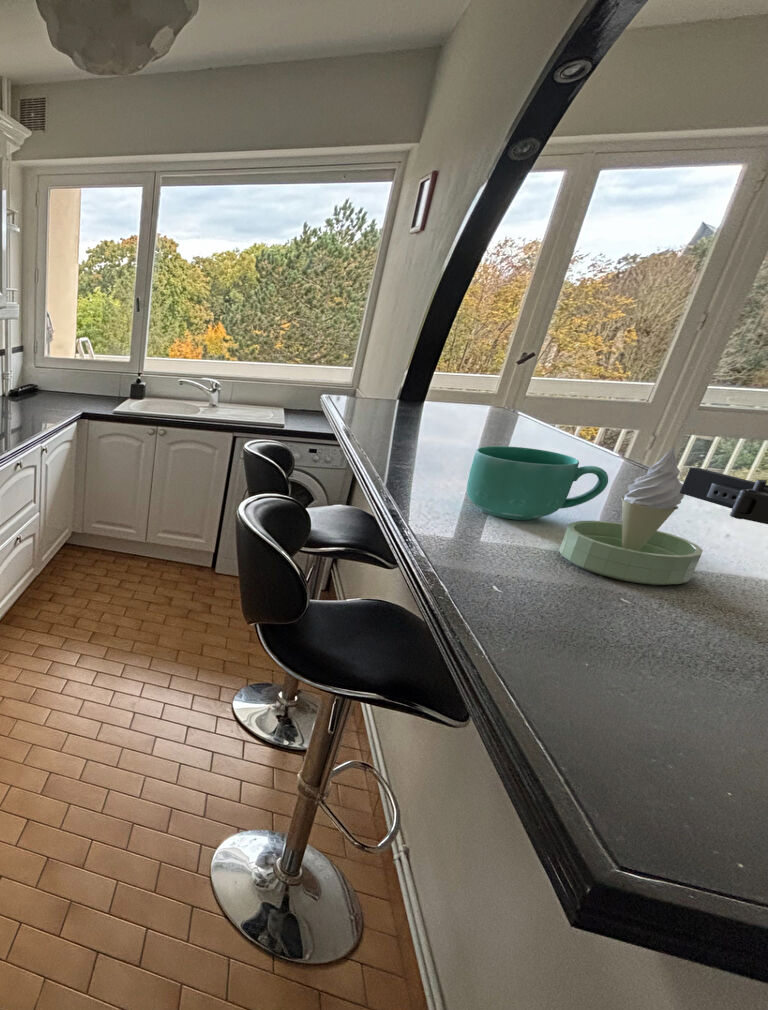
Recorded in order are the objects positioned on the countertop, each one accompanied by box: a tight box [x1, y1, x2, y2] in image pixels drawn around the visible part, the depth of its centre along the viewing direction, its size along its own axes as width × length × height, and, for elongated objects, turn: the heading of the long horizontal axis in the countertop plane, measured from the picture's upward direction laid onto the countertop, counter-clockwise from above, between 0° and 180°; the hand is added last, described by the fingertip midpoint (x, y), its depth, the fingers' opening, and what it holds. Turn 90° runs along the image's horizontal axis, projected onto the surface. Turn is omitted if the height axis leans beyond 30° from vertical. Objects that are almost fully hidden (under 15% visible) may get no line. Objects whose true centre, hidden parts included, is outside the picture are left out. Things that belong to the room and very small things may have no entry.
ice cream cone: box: [621, 446, 685, 551], centre depth 71 cm, size 5×5×15 cm
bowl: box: [559, 520, 704, 586], centre depth 74 cm, size 12×12×4 cm
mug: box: [466, 445, 609, 521], centre depth 91 cm, size 17×13×10 cm
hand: (754, 481), depth 60 cm, fingers open, 13 cm apart
